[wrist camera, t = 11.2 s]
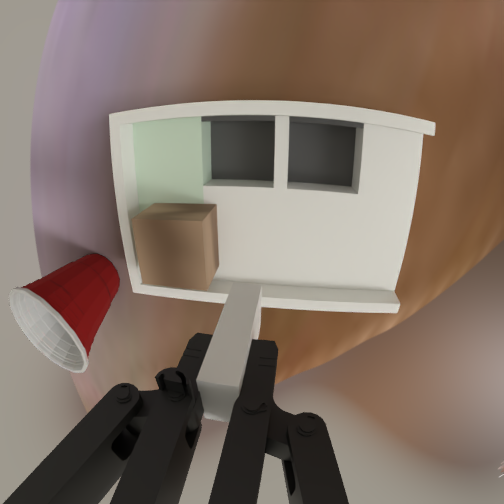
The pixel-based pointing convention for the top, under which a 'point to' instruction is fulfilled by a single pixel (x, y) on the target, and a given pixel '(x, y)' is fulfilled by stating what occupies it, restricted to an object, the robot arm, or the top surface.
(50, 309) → the plastic cup
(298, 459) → the robot arm
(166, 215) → the walnut block
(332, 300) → the box
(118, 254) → the top surface
